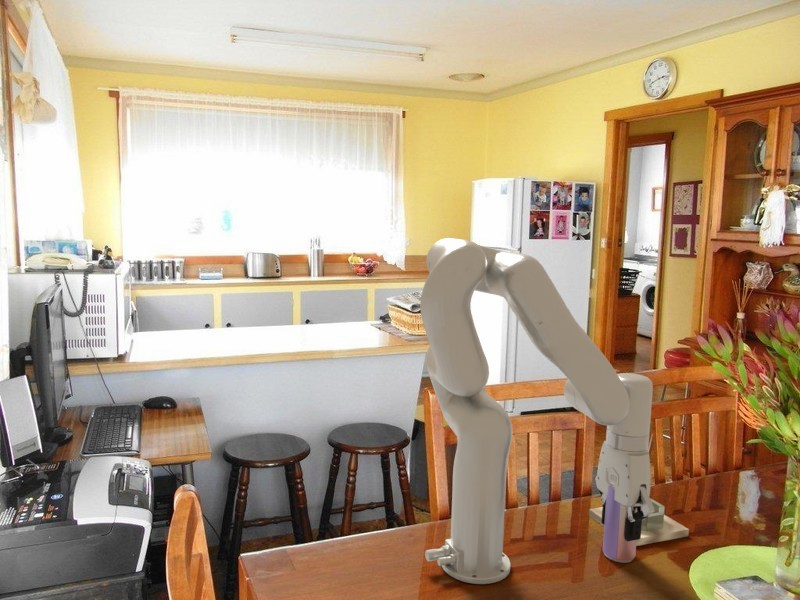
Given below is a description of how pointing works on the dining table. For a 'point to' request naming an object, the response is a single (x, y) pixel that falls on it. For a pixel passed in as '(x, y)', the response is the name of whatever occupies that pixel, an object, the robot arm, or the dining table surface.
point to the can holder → (652, 525)
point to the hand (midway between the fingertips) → (620, 530)
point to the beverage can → (617, 530)
